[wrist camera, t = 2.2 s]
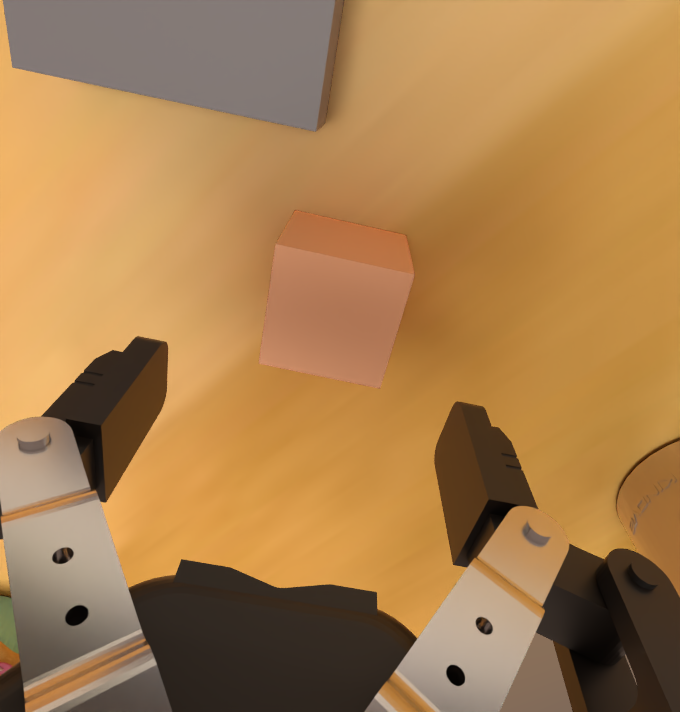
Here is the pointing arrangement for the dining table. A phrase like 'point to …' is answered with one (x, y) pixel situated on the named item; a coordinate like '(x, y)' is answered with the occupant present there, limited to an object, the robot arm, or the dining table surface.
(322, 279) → the terracotta cube
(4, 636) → the cupcake
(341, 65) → the dining table surface
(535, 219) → the dining table surface
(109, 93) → the dining table surface
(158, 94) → the charcoal block
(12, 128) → the dining table surface
